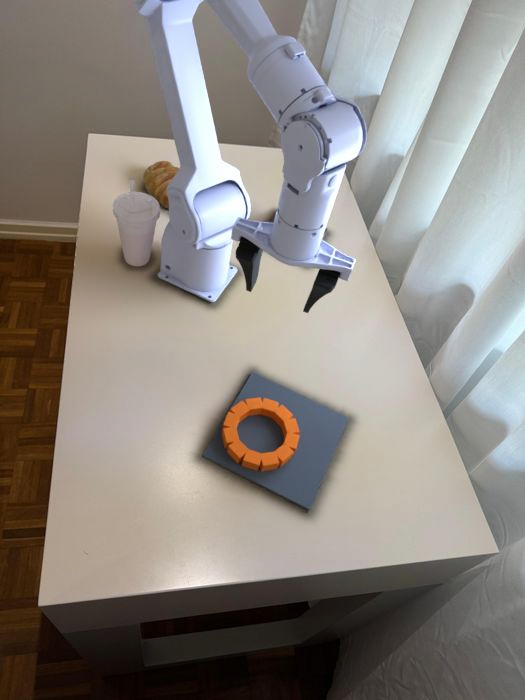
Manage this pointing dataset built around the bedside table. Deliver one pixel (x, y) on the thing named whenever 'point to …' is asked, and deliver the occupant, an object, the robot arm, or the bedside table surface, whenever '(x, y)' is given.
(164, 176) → the pastry
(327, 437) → the mat
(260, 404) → the ring
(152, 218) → the smoothie
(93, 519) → the bedside table surface
